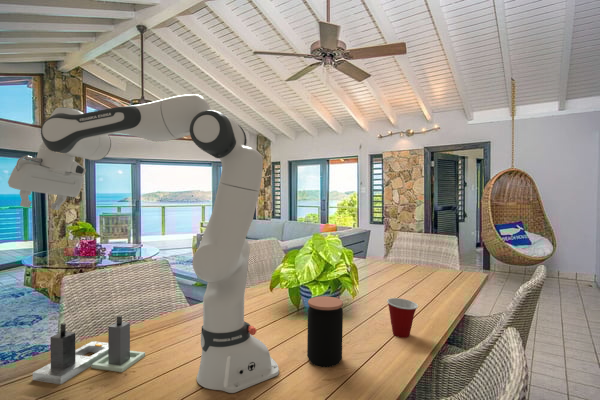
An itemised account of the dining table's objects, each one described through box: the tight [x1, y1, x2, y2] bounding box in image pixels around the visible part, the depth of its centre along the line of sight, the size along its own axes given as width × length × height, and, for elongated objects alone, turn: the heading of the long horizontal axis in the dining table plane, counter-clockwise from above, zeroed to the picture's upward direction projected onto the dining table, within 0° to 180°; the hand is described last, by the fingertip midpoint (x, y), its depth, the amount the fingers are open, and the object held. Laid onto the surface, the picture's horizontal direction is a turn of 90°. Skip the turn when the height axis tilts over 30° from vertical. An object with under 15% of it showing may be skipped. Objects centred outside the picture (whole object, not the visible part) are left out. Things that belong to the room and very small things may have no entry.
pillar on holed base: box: [32, 322, 108, 385], centre depth 101 cm, size 20×9×14 cm, turn 168°
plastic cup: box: [386, 297, 419, 339], centre depth 126 cm, size 11×11×12 cm
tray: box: [91, 350, 146, 373], centre depth 103 cm, size 10×10×2 cm
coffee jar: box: [306, 295, 344, 368], centre depth 107 cm, size 11×11×18 cm
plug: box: [107, 315, 131, 366], centre depth 103 cm, size 4×4×13 cm
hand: (40, 208), depth 101 cm, fingers open, 8 cm apart
